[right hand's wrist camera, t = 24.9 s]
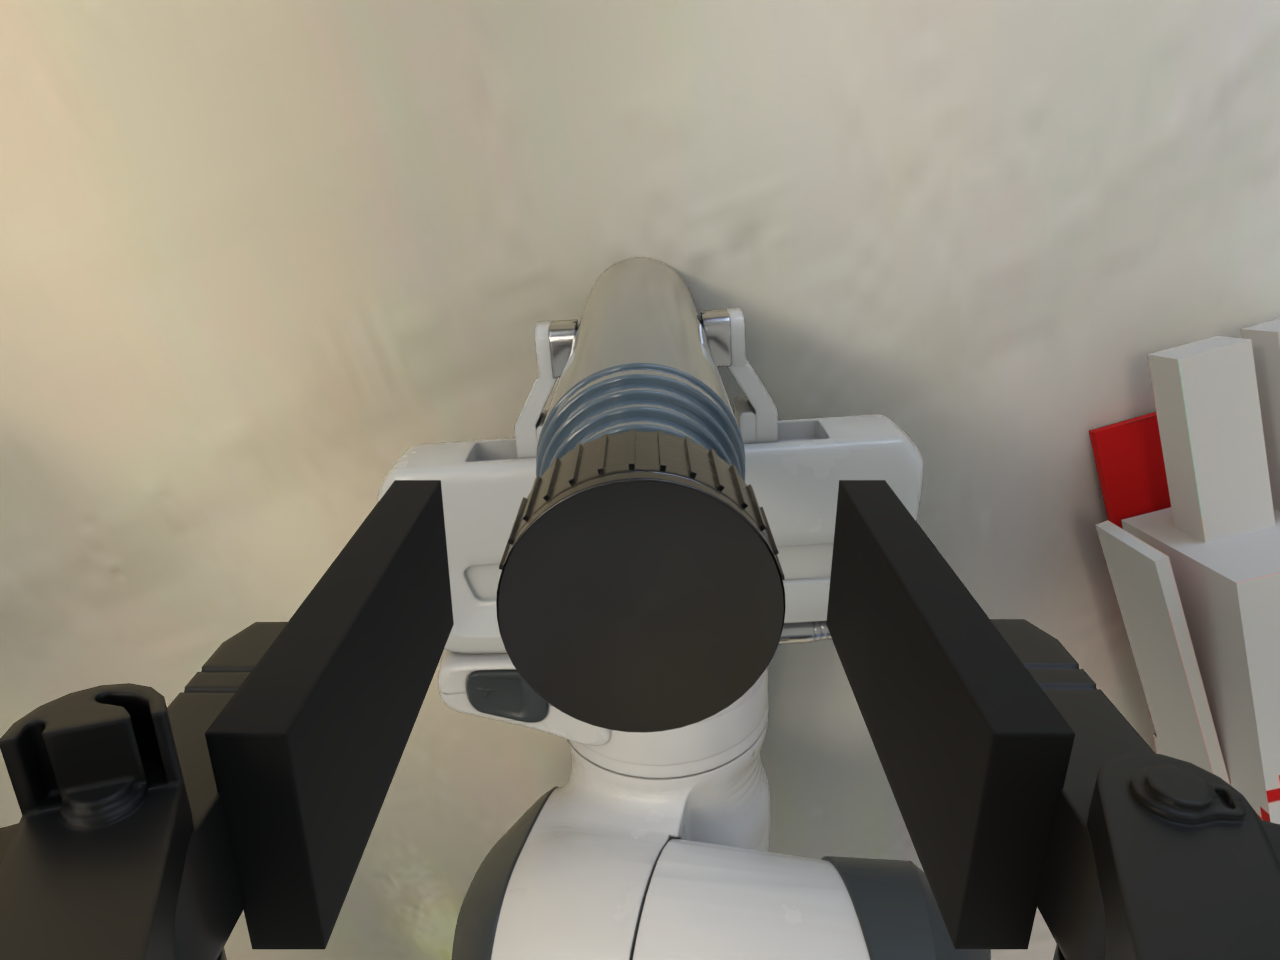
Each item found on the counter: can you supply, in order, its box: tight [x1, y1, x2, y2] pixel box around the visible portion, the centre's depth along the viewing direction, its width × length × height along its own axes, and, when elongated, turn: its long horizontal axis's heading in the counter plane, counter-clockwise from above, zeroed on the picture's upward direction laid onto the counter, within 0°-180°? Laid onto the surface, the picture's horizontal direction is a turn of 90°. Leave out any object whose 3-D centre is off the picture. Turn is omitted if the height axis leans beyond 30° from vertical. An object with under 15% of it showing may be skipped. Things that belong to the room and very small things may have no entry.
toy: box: [1089, 318, 1280, 824], centre depth 37 cm, size 12×13×30 cm
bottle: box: [536, 258, 746, 482], centre depth 25 cm, size 5×5×25 cm
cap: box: [496, 429, 786, 733], centre depth 14 cm, size 4×4×2 cm
